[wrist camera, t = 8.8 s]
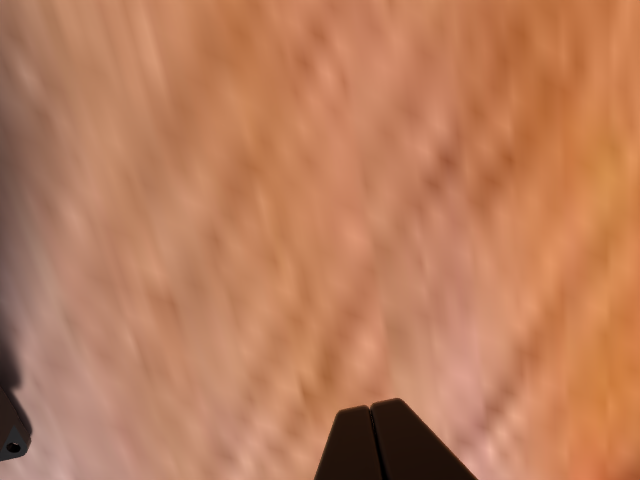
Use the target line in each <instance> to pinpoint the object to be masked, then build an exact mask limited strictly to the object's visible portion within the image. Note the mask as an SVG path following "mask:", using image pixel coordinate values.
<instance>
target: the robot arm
mask: <svg viewBox="0 0 640 480" xmlns="http://www.w3.org/2000/svg"><path fill="white" fill-rule="evenodd" d="M370 411H371V413H370ZM371 416H372V417H371ZM372 420H373V421H372ZM373 425H374V426H373ZM13 443H16V444H18V445H16V444H13ZM30 444H31V438H30V436H29V434H28V432H27V431H26V429H25V427H24V426H23V424H22V423H21V421H20V419H19V418H18V414H17V412H16V411H15V409H14V408H13V406H12V404H11V403H10V401H9V399H8V398H7V396H6V394H5V393H4V391H3V389H2V388H1V386H0V461H4V460H9V459H13V458H18V457H21V456H24V455H25V454H26V453H27V451H28V449H29V446H30ZM314 480H478V479H477V478H476V477H475V476H474V475H473V474H472V473H471V472H470V470H469V469H468V468H467V467H466V466H465V465H464V464H463V463H462V462H461V461H460V460H459V459H458V458H457V457H456V456H455V455H454V454H453V452H452V451H451V450H450V449H449V448H448V447H447V446H446V445H445V444H444V443H443V442H442V441H441V440H440V439H439V438H438V437H437V436H436V434H435V433H434V432H433V431H432V430H431V429H430V428H429V427H428V426H427V425H426V424H425V423H424V422H423V421H422V420H421V419H420V418H419V417H418V415H417V414H416V413H415V412H414V411H413V410H412V409H411V408H410V407H409V406H408V405H407V404H406V403H405V402H404V401H403V400H402V399H400V398H393V399H389V400H384V401H380V402H375V403H373V404H372V405H371V407H370V409H369V407H368V406H366V405H361V406H357V407H352V408H347V409H343V410H340V411H339V412H338V413H337V414H336V416H335V419H334V422H333V425H332V428H331V431H330V434H329V437H328V440H327V443H326V445H325V448H324V451H323V454H322V457H321V460H320V463H319V466H318V469H317V472H316V475H315V478H314Z"/></svg>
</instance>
